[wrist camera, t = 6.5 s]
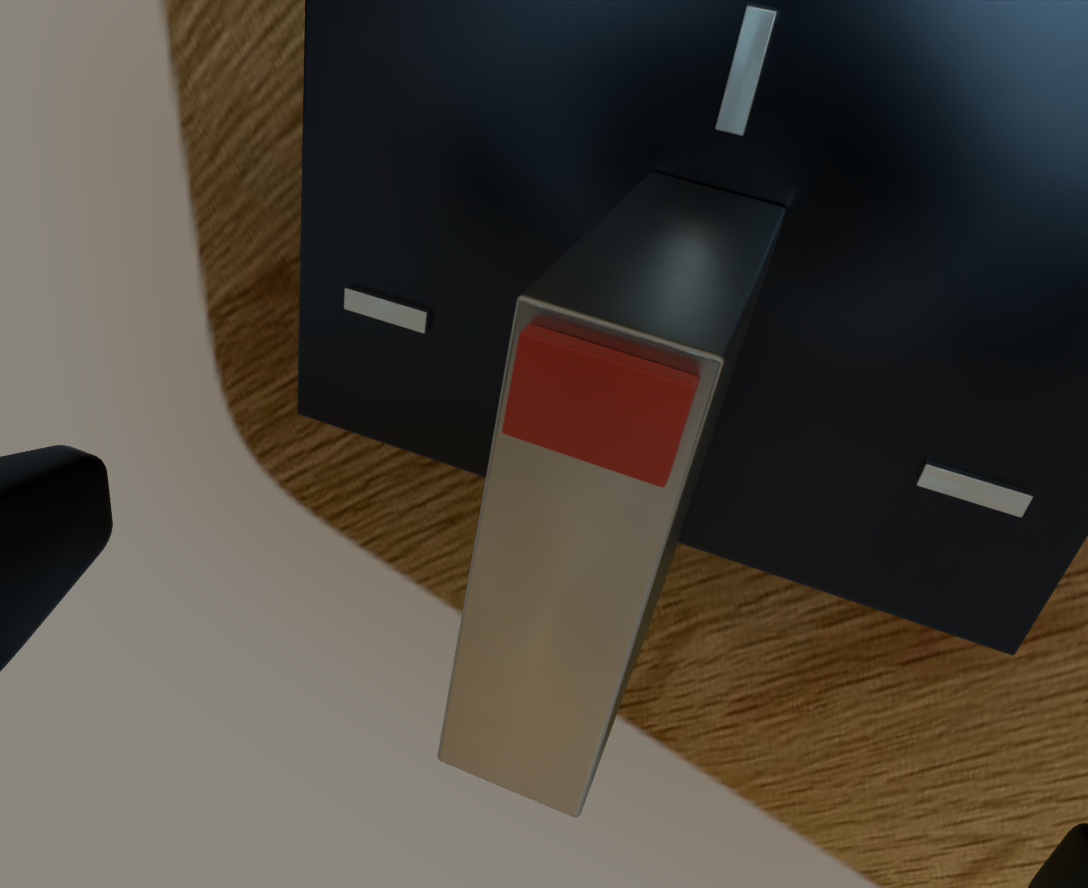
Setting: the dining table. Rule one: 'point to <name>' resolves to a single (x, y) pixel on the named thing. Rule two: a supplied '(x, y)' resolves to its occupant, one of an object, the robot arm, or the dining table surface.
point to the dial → (596, 476)
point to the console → (792, 277)
